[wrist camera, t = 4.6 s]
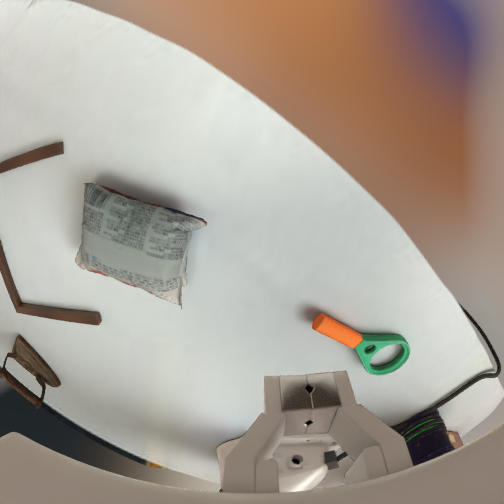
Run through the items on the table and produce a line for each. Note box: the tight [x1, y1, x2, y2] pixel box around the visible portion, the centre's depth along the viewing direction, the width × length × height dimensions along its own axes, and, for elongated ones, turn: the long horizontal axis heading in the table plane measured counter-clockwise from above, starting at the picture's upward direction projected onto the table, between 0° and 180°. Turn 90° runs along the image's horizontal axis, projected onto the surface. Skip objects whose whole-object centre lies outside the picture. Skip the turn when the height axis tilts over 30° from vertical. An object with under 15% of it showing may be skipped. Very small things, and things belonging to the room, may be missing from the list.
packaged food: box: [75, 183, 207, 309], centre depth 22 cm, size 9×12×5 cm
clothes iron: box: [0, 335, 61, 409], centre depth 31 cm, size 7×11×10 cm, turn 43°
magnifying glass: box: [312, 314, 410, 375], centre depth 28 cm, size 15×6×2 cm, turn 57°
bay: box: [0, 142, 102, 325], centre depth 24 cm, size 16×20×1 cm
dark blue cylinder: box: [396, 409, 455, 466], centre depth 32 cm, size 10×10×15 cm
